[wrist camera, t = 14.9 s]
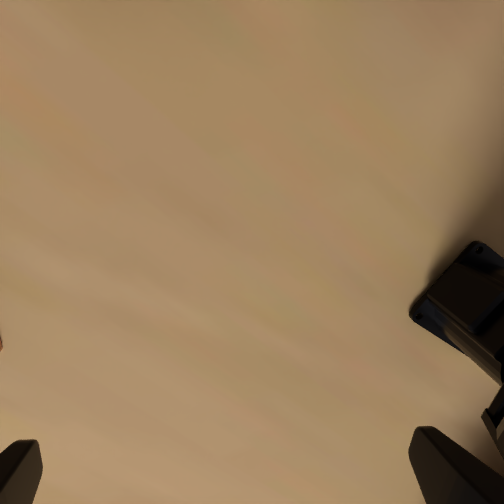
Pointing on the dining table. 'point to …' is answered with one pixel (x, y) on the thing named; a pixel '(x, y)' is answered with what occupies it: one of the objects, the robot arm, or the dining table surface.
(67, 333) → the dining table surface
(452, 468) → the robot arm
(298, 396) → the dining table surface
